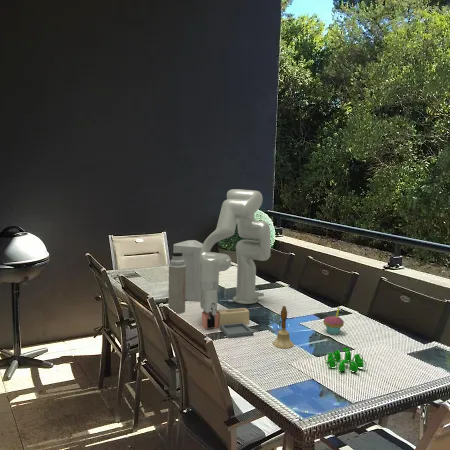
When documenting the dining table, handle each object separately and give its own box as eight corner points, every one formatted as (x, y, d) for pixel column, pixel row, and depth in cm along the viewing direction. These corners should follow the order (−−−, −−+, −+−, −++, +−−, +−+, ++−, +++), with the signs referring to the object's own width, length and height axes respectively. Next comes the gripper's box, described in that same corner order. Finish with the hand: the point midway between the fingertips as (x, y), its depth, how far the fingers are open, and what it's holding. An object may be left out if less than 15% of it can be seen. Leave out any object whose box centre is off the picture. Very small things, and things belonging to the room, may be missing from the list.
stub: (214, 323, 225) (214, 310, 224) (218, 327, 220) (218, 314, 219) (201, 325, 223) (201, 311, 222) (205, 328, 218) (205, 315, 217)
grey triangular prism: (168, 293, 269) (168, 241, 265) (194, 290, 275) (195, 240, 270) (179, 303, 252) (179, 248, 247) (207, 301, 257) (208, 247, 253)
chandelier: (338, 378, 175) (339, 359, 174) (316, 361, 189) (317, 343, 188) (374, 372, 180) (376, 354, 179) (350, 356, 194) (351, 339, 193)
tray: (243, 326, 222) (243, 322, 222) (253, 335, 212) (253, 331, 212) (219, 329, 218) (219, 325, 218) (228, 338, 208) (229, 334, 208)
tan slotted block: (244, 320, 230) (245, 307, 229) (248, 324, 225) (249, 311, 224) (215, 323, 225) (215, 310, 224) (219, 327, 220) (219, 313, 220)
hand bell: (280, 350, 198) (281, 311, 195) (268, 342, 205) (270, 304, 202) (297, 346, 202) (299, 308, 199) (285, 339, 209) (287, 302, 206)
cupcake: (344, 330, 221) (345, 304, 219) (341, 337, 213) (343, 309, 211) (324, 327, 224) (325, 301, 222) (321, 334, 216) (322, 307, 214)
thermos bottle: (187, 309, 244) (188, 252, 240) (182, 314, 236) (183, 255, 232) (171, 307, 245) (171, 251, 241) (166, 312, 238) (166, 254, 233)
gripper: (195, 280, 225) (194, 319, 228) (207, 291, 209) (206, 333, 212) (211, 279, 228) (210, 318, 231) (224, 289, 212) (223, 331, 215)
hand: (208, 324), depth 221 cm, fingers closed on stub, 5 cm apart
